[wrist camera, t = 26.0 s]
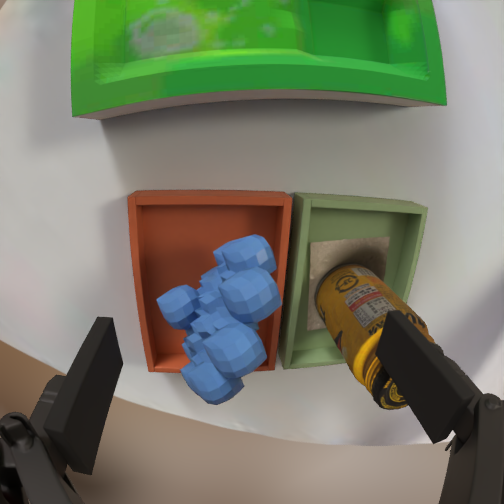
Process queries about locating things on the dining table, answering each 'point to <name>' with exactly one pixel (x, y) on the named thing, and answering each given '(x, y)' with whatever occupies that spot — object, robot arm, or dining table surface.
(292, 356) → the green tray
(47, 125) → the dining table surface
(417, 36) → the tray
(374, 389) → the condiment
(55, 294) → the dining table surface
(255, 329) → the grapes
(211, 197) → the terracotta tray
